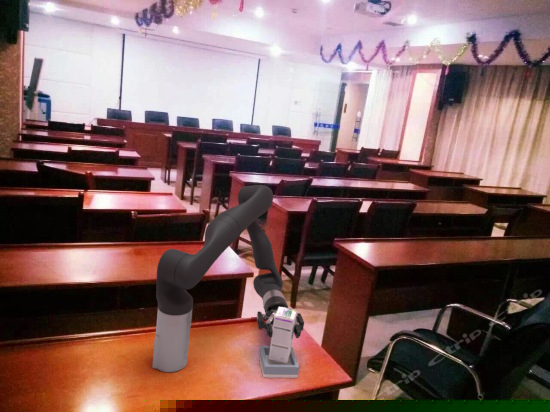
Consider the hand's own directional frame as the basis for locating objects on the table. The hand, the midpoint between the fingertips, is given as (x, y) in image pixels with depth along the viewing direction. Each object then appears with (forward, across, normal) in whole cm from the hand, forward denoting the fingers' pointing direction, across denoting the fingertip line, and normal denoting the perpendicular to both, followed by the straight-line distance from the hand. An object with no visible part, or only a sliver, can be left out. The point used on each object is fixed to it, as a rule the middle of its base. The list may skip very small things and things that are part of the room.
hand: (284, 334), depth 114 cm
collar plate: (-2, 0, +12) cm, 12 cm away
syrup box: (-2, 0, +9) cm, 9 cm away
